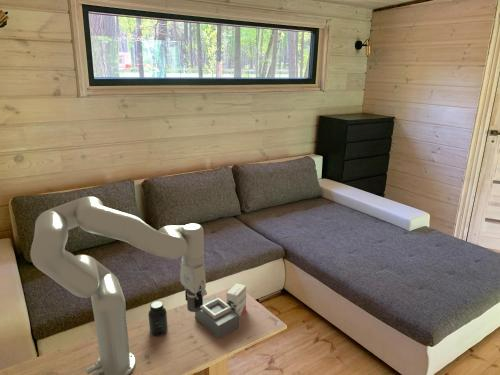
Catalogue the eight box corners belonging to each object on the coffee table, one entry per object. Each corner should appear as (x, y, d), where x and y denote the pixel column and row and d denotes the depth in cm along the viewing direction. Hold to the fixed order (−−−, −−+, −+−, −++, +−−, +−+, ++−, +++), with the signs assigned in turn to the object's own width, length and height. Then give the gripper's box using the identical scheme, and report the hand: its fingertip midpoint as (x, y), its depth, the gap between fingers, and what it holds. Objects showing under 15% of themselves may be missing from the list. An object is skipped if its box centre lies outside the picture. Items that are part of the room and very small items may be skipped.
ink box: (236, 305, 161) (236, 282, 157) (246, 309, 159) (246, 285, 155) (226, 316, 154) (226, 292, 150) (236, 320, 152) (236, 296, 148)
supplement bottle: (170, 325, 148) (168, 299, 145) (164, 337, 142) (162, 310, 138) (153, 323, 149) (151, 298, 145) (147, 335, 143) (144, 309, 139)
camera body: (238, 327, 148) (239, 310, 146) (218, 338, 142) (218, 321, 139) (214, 307, 159) (214, 292, 157) (195, 317, 153) (194, 301, 150)
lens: (192, 313, 133) (191, 294, 130) (184, 307, 136) (183, 288, 134) (204, 308, 136) (203, 289, 133) (196, 301, 139) (195, 283, 137)
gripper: (170, 252, 133) (172, 296, 139) (197, 272, 121) (198, 318, 127) (188, 246, 138) (189, 288, 144) (216, 264, 126) (216, 310, 132)
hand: (194, 302), depth 135 cm, fingers closed on lens, 5 cm apart
